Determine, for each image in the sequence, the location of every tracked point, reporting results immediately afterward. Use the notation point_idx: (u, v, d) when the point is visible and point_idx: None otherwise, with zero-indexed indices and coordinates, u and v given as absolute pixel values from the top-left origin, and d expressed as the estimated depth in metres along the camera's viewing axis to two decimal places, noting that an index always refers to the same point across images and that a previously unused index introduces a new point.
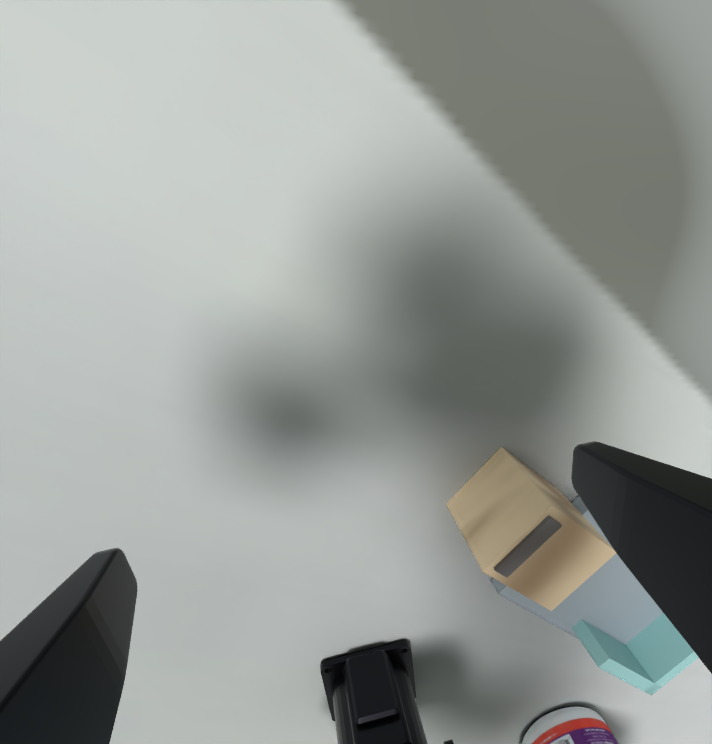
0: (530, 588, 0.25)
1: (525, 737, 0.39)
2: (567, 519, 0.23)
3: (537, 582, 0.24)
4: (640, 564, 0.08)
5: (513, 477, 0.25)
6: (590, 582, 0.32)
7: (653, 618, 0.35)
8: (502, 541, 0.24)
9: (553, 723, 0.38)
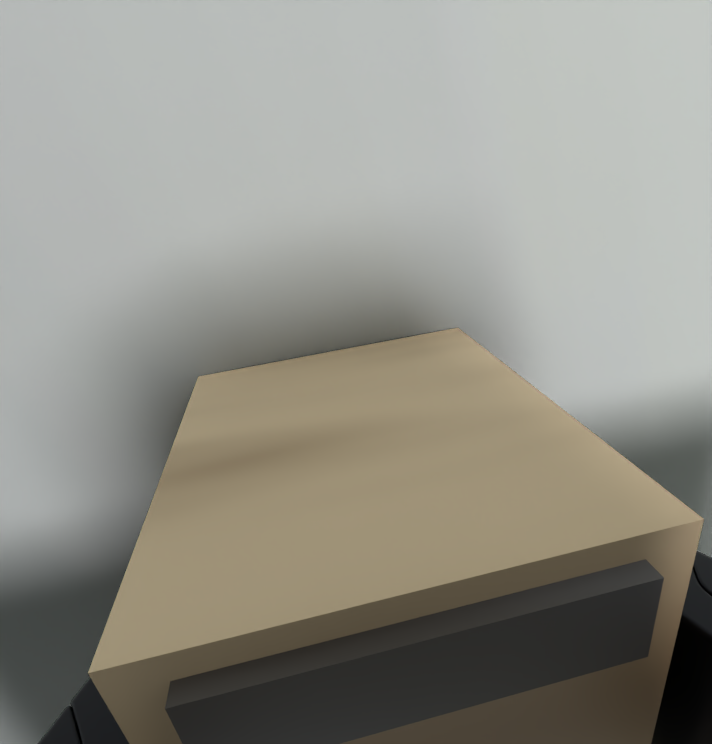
0: None
1: None
2: (663, 640, 0.04)
3: None
4: None
5: (480, 384, 0.07)
6: None
7: None
8: (324, 561, 0.04)
9: None
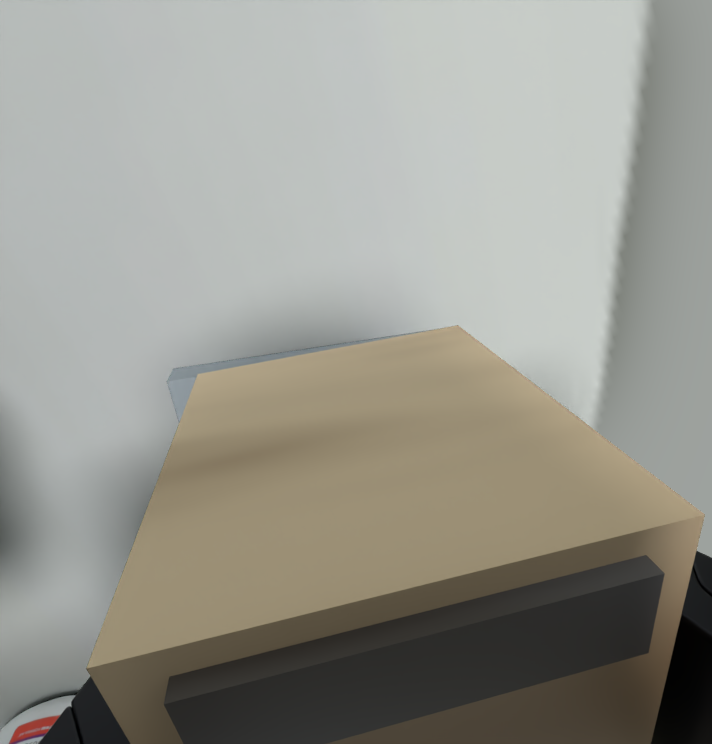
0: None
1: (21, 713, 0.22)
2: (664, 637, 0.04)
3: None
4: None
5: (480, 381, 0.07)
6: None
7: None
8: (324, 557, 0.04)
9: None
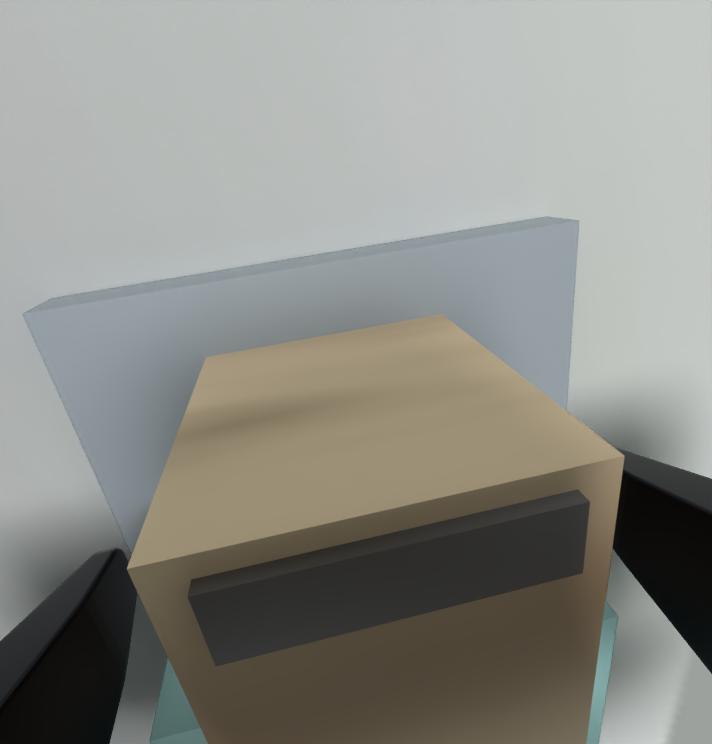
0: None
1: None
2: (599, 564, 0.05)
3: None
4: (640, 564, 0.08)
5: (456, 360, 0.07)
6: None
7: None
8: (315, 491, 0.05)
9: None
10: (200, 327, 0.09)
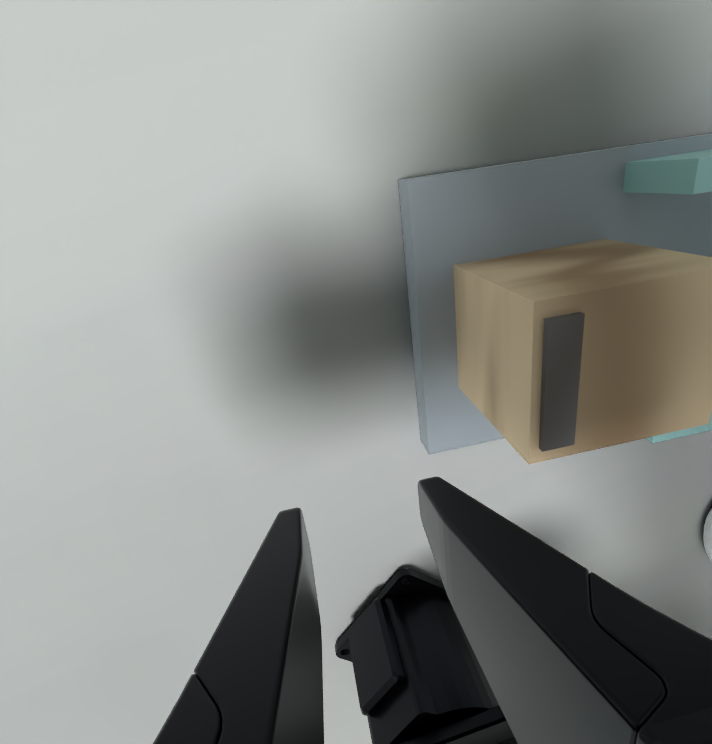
0: (634, 425, 0.14)
1: (705, 549, 0.26)
2: (587, 296, 0.12)
3: (637, 409, 0.13)
4: (460, 610, 0.07)
5: (482, 297, 0.14)
6: None
7: None
8: (521, 403, 0.13)
9: None
10: (443, 388, 0.18)
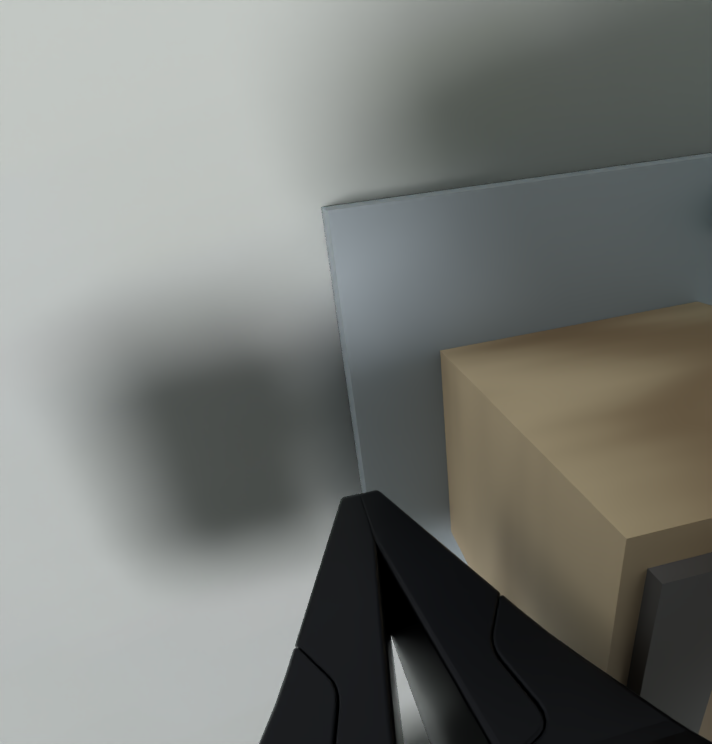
0: None
1: None
2: None
3: None
4: (391, 628, 0.07)
5: (491, 434, 0.08)
6: None
7: None
8: None
9: None
10: None
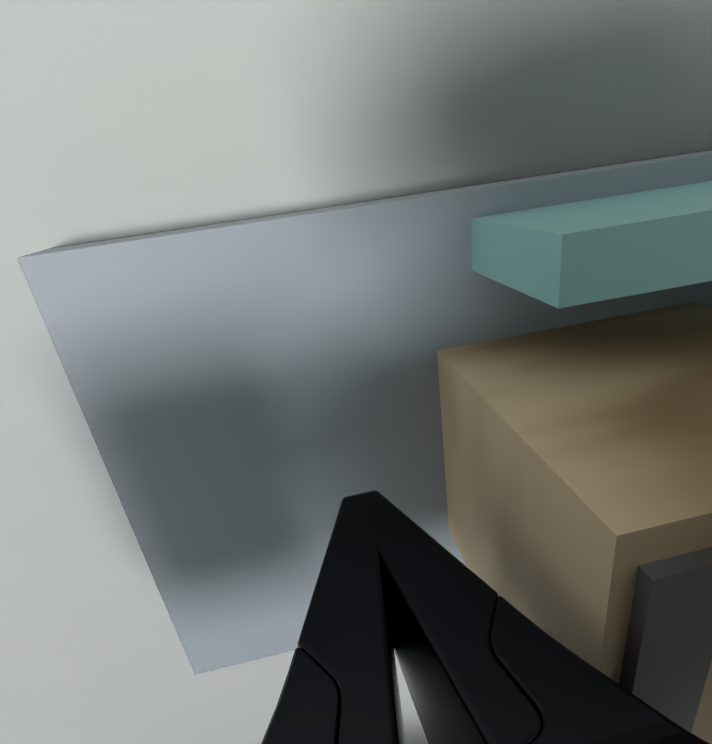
0: None
1: None
2: None
3: None
4: (389, 628, 0.07)
5: (487, 434, 0.08)
6: None
7: None
8: None
9: None
10: (196, 586, 0.11)
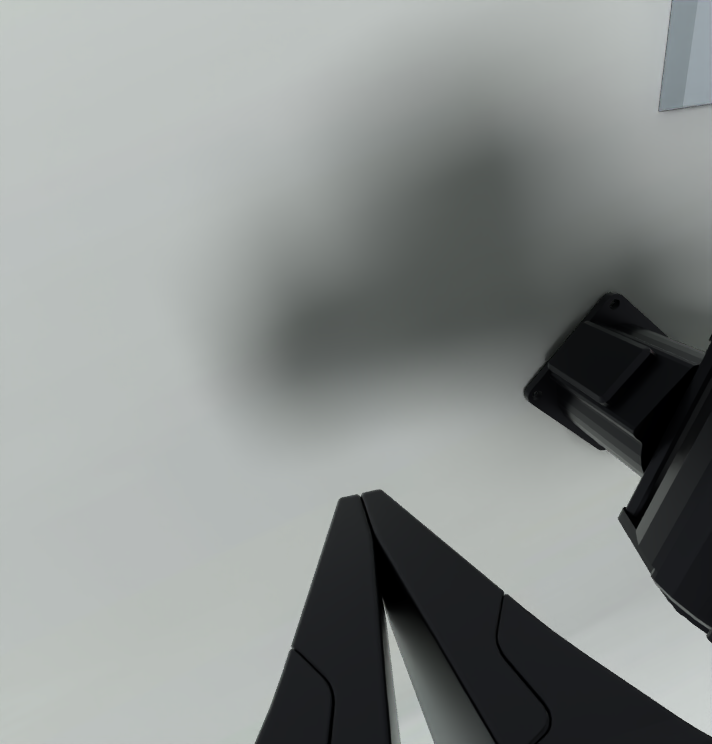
0: None
1: None
2: None
3: None
4: (394, 627, 0.07)
5: None
6: None
7: None
8: None
9: None
10: None
